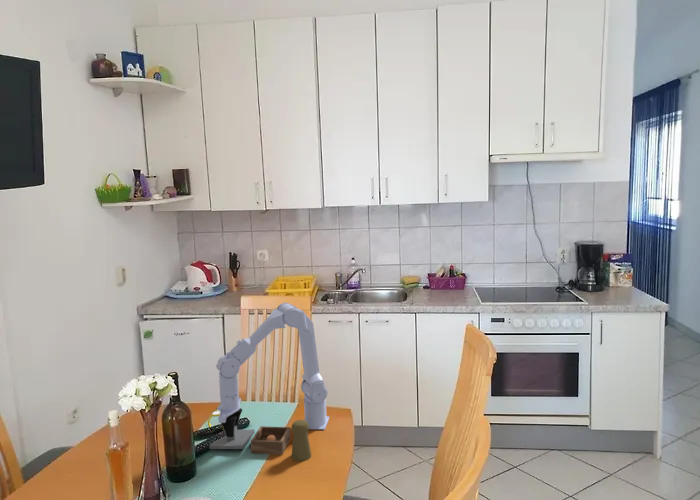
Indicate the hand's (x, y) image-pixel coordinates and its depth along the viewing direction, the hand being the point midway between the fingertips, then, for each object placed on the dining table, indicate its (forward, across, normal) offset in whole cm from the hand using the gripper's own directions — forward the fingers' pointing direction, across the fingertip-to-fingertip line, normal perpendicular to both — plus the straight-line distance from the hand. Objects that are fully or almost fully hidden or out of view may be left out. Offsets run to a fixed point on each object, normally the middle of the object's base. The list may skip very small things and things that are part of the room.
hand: (231, 434), depth 169 cm
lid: (+2, 0, 0) cm, 2 cm away
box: (+3, 0, +13) cm, 13 cm away
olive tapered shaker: (+4, +5, +24) cm, 25 cm away
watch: (+4, -10, -9) cm, 14 cm away
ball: (+1, 0, +13) cm, 13 cm away
